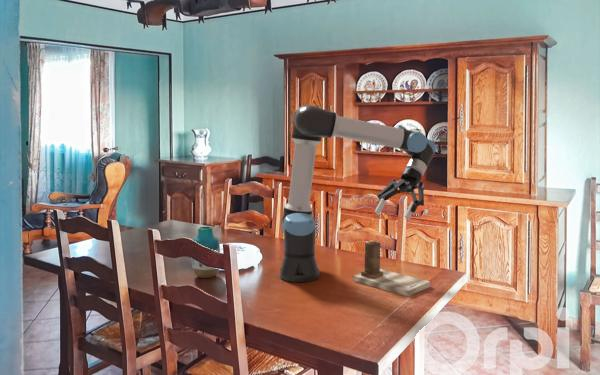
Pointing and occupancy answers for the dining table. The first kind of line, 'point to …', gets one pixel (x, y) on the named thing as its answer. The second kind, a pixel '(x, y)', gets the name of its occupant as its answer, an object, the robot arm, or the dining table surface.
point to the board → (394, 283)
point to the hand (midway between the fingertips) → (391, 215)
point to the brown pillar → (372, 260)
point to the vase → (211, 242)
